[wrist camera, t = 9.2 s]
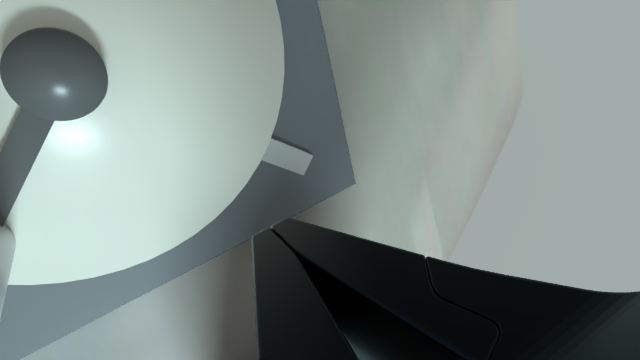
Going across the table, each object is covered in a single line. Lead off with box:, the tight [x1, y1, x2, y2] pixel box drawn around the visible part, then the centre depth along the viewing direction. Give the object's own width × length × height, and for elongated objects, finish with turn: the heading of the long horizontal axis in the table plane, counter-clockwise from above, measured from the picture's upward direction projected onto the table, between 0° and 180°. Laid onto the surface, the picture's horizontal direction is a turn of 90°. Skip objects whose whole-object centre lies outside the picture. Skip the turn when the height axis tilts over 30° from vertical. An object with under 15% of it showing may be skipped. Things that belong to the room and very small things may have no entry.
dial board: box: [0, 0, 355, 360], centre depth 15 cm, size 22×22×1 cm
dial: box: [0, 0, 285, 318], centre depth 12 cm, size 17×17×6 cm
